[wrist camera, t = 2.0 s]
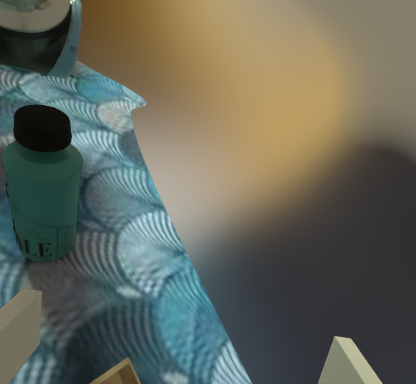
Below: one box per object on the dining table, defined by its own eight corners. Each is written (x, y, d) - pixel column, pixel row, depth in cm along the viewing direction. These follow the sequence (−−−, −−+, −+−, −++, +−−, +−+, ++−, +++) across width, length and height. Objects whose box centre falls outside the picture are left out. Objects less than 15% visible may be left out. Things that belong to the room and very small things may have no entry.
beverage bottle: (77, 226, 37) (88, 101, 24) (75, 269, 33) (88, 146, 20) (21, 226, 34) (1, 84, 21) (12, 273, 30) (-21, 132, 17)
